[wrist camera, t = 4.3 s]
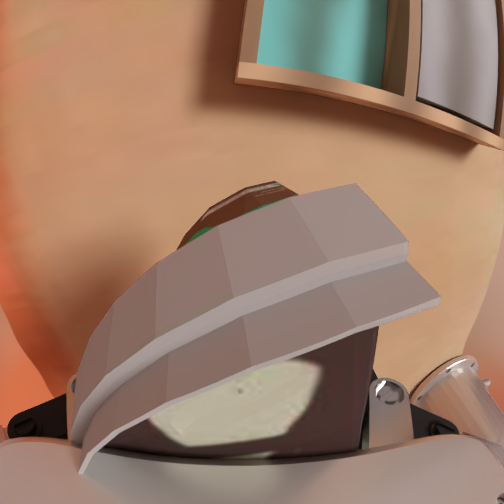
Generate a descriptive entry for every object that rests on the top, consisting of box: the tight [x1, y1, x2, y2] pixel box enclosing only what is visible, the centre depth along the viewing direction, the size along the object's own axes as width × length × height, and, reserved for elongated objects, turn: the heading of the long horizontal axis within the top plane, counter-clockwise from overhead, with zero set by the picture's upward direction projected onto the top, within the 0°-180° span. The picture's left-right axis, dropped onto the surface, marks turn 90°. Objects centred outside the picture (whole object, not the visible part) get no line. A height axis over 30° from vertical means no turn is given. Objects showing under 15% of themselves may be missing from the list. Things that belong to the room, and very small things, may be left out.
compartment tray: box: [234, 0, 504, 151], centre depth 16 cm, size 23×17×4 cm
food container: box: [71, 181, 441, 474], centre depth 9 cm, size 12×6×10 cm, turn 7°
